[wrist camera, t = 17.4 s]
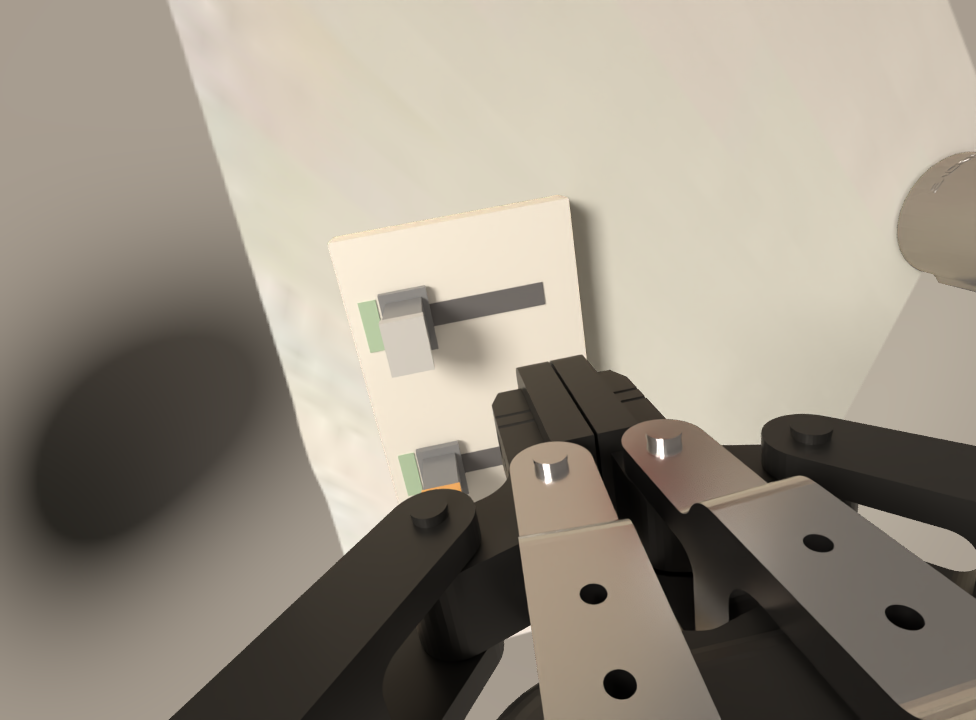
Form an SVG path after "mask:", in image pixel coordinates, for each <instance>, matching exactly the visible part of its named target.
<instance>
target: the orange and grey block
mask: <svg viewBox="0 0 976 720" xmlns="http://www.w3.org/2000/svg"><path fill="white" fill-rule="evenodd" d="M416 457H417V461H418V465H419V469H420V473H421V477H422V481H423V490H421V492H425V491H428V490H434V489H454V490H458V491H461V492H463V493H465V494H469V489H468V485H467V480H466V476H465V471H464V466H463V462H462V457H461V452H460V448H459V443H458V440H457V441H453V442H448V443H443V444H438V445H433V446H429V447H424V448H419V449H416Z"/></svg>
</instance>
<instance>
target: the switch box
mask: <svg viewBox="0 0 976 720" xmlns="http://www.w3.org/2000/svg"><path fill="white" fill-rule="evenodd" d="M327 245H328V248H329V252H330V256H331V259H332V263H333V266H334V270H335V274H336V277H337V281H338V285H339V288H340V292H341V296H342V299H343V303H344V307H345V310H346V314H347V318H348V321H349V325H350V329H351V332H352V336H353V340H354V343H355V347H356V351H357V354H358V358H359V362H360V365H361V369H362V372H363V376H364V380H365V383H366V387H367V391H368V394H369V398H370V402H371V405H372V409H373V413H374V416H375V420H376V424H377V427H378V431H379V435H380V438H381V442H382V446H383V449H384V453H385V457H386V460H387V464H388V467H389V471H390V475H391V478H392V482H393V486H394V489H395V493H396V497H397V500H398V504H400V503H401V502H403V501H405V500H406V499H408V498H410V497H412V496H414V495H416V494H419V493H421V490H423V481H422V477H421V473H420V469H419V465H418V461H417V457H416V449H419V448H424V447H429V446H433V445H438V444H443V443H448V442H453V441H457V440H458V443H459V448H460V452H461V457H462V462H463V466H464V471H465V476H466V480H467V485H468V489H469V494H467V495H468V496H470V497H471V499H472V500H473V501H474V502H476V501H479V500H481V499H483V498H485V497H487V496H489V495H491V494H492V493H494V492H495V491H496V490H498V489H499V488H500V487H501V486H502V485H503V484H504V483H505V481H506V480H507V478H506V475H505V471H504V468H503V464H502V459H501V453H500V448H499V443H498V437H497V432H496V426H495V421H494V416H493V410H492V403H493V401H494V399H495V398H496V396H497V394H498V393H501V392H506V391H510V390H515V389H518V384H517V377H516V368H517V367H522V366H527V365H532V364H537V363H542V362H547V361H548V362H550V361H551V360H556V359H561V358H566V357H571V356H576V355H581V354H582V355H583V356H584V357H585V358H586V359H587V357H586V348H585V339H584V330H583V321H582V312H581V304H580V295H579V286H578V277H577V268H576V259H575V250H574V241H573V232H572V223H571V214H570V205H569V198H567V197H564V196H560V195H554V196H549V197H544V198H538V199H533V200H528V201H523V202H517V203H512V204H507V205H501V206H496V207H491V208H485V209H480V210H475V211H469V212H464V213H459V214H454V215H448V216H443V217H438V218H432V219H427V220H422V221H416V222H411V223H406V224H400V225H395V226H390V227H384V228H379V229H374V230H369V231H363V232H358V233H353V234H347V235H342V236H337V237H333V238H332V239H331V240H330V241H329V242H328V243H327ZM422 285H425V287H426V291H427V296H428V301H429V305H430V310H431V314H432V319H433V324H434V328H435V333H436V338H437V342H438V348H439V349H435V350H432V355H433V360H434V365H435V369H434V370H429V371H424V372H419V373H414V374H409V375H404V376H399V377H394V378H392V376H391V372H390V368H389V364H388V360H387V356H386V352H385V348H384V344H383V340H382V336H381V332H380V328H379V321H380V320H382V313H381V309H380V305H379V301H378V297H377V295H378V294H381V293H386V292H392V291H397V290H402V289H407V288H412V287H417V286H422Z"/></svg>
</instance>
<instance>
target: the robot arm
mask: <svg viewBox="0 0 976 720" xmlns="http://www.w3.org/2000/svg"><path fill="white" fill-rule="evenodd" d="M897 239H898V243H899V247H900V250H901V252H902V254H903V256H904V258H905V259H906V260H907V261H908V262H909V264H910V265H911V266H913V267H915V268H916V269H918V270H920V271H923V272H927V273H931V274H934V276H935V277H936V278H937V280H938V282H939V283H942V284H946V285H950V286H954V287H958V288H962V289H966V290H970V291H974V292H976V152H964V153H959V154H955V155H952V156H950V157H947V158H945V159H943V160H941V161H940V162H938V163H937V164H935V165H934V166H932V167H931V168H930V169H929V170H927V171H926V172H925V173H924V174H923V175H922V176H921V177H920V178H919V179H918V181H917V182H916V183H915V184H914V186H913V187H912V188H911V190H910V192H909V194H908V195H907V197H906V199H905V201H904V203H903V206H902V209H901V211H900V215H899V220H898V225H897ZM516 377H517V384H518V389H515V390H510V391H506V392H501V393H498V394H497V396H496V398H495V399H494V401H493V403H492V410H493V416H494V421H495V426H496V432H497V437H498V443H499V448H500V453H501V459H502V464H503V468H504V471H505V475H506V478H507V480H506V481H505V483H504V484H503V485H502V486H501V487H500V488H499V489H498V490H496V491H495V492H494V493H492V494H491V495H489V496H487V497H485V498H483V499H481V500H479V501H476V502H474V501H473V500H472V499H471V497H470V496H468V495H467V494H465V493H463V492H461V491H458V490H454V489H434V490H428V491H425V492H421V493H419V494H416V495H414V496H412V497H410V498H408V499H406V500H405V501H403V502H401V503H400V504H399V505H398V506H397V507H395V508H394V509H393V510H392V511H391V512H390V513H389V514H388V515H387V516H386V517H385V518H384V519H383V520H382V521H380V522H379V523H378V524H377V525H376V526H375V527H374V528H373V529H372V530H371V531H370V532H369V533H368V534H367V535H366V536H364V537H363V538H362V539H361V540H360V541H359V542H358V543H357V544H356V545H355V546H354V547H353V548H352V549H351V550H350V551H348V552H347V553H346V554H345V555H344V556H343V557H342V558H341V559H340V560H339V561H338V562H337V563H336V564H335V565H334V566H333V567H331V568H330V569H329V570H328V571H327V572H326V573H325V574H324V575H323V576H322V577H321V578H320V579H319V580H318V581H317V582H315V583H314V584H313V585H312V586H311V587H310V588H309V589H308V590H307V591H306V592H305V593H304V594H303V595H301V597H299V598H298V599H297V600H296V601H295V602H294V603H293V604H292V605H291V606H290V607H289V608H288V609H287V610H285V611H284V612H283V613H282V614H281V615H280V616H279V617H278V618H277V619H276V620H275V621H274V622H273V623H272V624H270V625H269V626H268V627H267V628H266V629H265V630H264V631H263V632H262V633H261V634H260V635H259V636H258V637H257V638H256V639H254V640H253V641H252V642H251V643H250V644H249V645H248V646H247V647H246V648H245V649H244V650H243V651H242V652H241V653H240V654H238V655H237V656H236V657H235V658H234V659H233V660H232V661H231V662H230V663H229V664H228V665H227V666H226V667H225V668H224V669H222V670H221V671H220V672H219V673H218V674H217V675H216V676H215V677H214V678H213V679H212V680H211V681H210V682H209V683H208V684H206V685H205V686H204V687H203V688H202V689H201V690H200V691H199V692H198V693H197V694H196V695H195V696H194V697H193V698H191V699H190V700H189V701H188V702H187V703H186V704H185V705H184V706H183V707H182V708H181V709H180V710H179V711H178V712H177V713H175V715H173V716H172V717H171V718H170V719H169V720H464V719H465V717H466V715H467V714H468V712H469V711H470V709H471V707H472V706H473V704H474V703H475V701H476V699H477V698H478V696H479V695H480V693H481V691H482V690H483V687H484V686H485V685H486V683H487V681H488V680H489V678H490V677H491V675H492V673H493V672H494V670H495V668H496V667H497V665H498V663H499V662H500V660H501V658H502V654H503V651H504V640H505V639H507V638H509V637H510V636H512V635H514V634H516V633H518V632H519V631H521V630H523V629H525V628H526V627H528V626H530V625H531V630H532V637H533V643H534V651H535V658H536V665H537V672H538V679H539V683H538V684H536V685H535V686H533V687H532V688H530V689H529V690H527V691H526V692H525V693H523V694H522V695H521V696H520V697H518V698H517V699H516V700H515V701H514V702H513V703H512V704H511V705H509V706H508V708H507V709H506V710H505V711H504V712H503V713H502V714H501V715H500V716H499V718H498V719H497V720H976V569H975V570H972V571H968V572H959V571H953V570H949V569H946V568H943V567H940V566H937V565H934V564H931V563H928V562H925V561H923V560H922V559H920V558H919V557H918V556H916V555H915V554H913V553H912V552H911V551H909V550H908V549H907V548H905V547H904V546H902V545H901V544H899V543H898V542H897V541H896V540H894V539H893V538H891V537H890V536H889V535H887V534H886V533H885V532H883V531H882V530H880V529H879V528H878V527H876V526H875V525H874V524H872V523H871V522H869V521H868V520H867V519H865V518H864V517H862V516H861V515H860V514H858V513H857V512H858V504H860V505H864V506H867V507H871V508H874V509H878V510H881V511H885V512H888V513H892V514H896V515H899V516H902V517H906V518H909V519H913V520H916V521H920V522H923V523H927V524H930V525H934V526H937V527H941V528H944V529H948V530H950V531H953V532H955V533H957V534H959V535H961V536H962V537H964V538H965V539H967V540H968V541H969V542H970V543H971V544H972V545H973V546H974V548H975V549H976V446H973V445H968V444H963V443H958V442H953V441H948V440H943V439H937V438H933V437H927V436H922V435H917V434H912V433H907V432H902V431H897V430H892V429H887V428H882V427H877V426H872V425H867V424H862V423H856V422H851V421H846V420H842V419H837V418H831V417H826V416H821V415H812V414H793V415H786V416H781V417H778V418H775V419H772V420H771V421H769V422H767V423H766V424H765V425H764V426H763V428H762V432H761V445H720V444H719V443H718V442H717V441H715V440H714V439H713V438H712V437H711V436H709V435H708V434H707V433H706V432H704V431H703V430H702V429H701V428H699V427H698V426H696V425H693V424H691V423H688V422H685V421H680V420H673V419H666V418H665V417H664V416H663V415H662V414H661V413H660V412H659V411H658V410H657V409H656V408H655V407H654V405H653V404H652V403H651V402H650V401H649V400H648V399H647V398H645V397H644V395H643V394H642V393H641V392H640V390H639V389H637V387H636V386H635V385H634V384H633V383H632V382H631V381H630V380H629V379H628V378H627V377H626V376H623V375H621V374H618V373H616V372H613V371H611V370H607V371H602V372H598V373H597V372H596V371H595V369H594V368H593V367H592V366H591V364H590V363H589V362H588V361H587V359H586V358H585V357H584V356H583V355H582V354H581V355H576V356H571V357H566V358H561V359H556V360H551V361H550V362H548V361H547V362H542V363H537V364H532V365H527V366H522V367H517V368H516Z"/></svg>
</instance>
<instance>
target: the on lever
mask: <svg viewBox="0 0 976 720" xmlns="http://www.w3.org/2000/svg"><path fill="white" fill-rule="evenodd" d="M377 297H378V301H379V305H380V309H381V313H382V320H380V321H379V328H380V332H381V336H382V340H383V344H384V348H385V352H386V356H387V360H388V364H389V368H390V372H391V376H392V378H394V377H399V376H404V375H409V374H414V373H419V372H424V371H429V370H434V369H435V365H434V360H433V355H432V350H435V349H439V348H438V342H437V338H436V333H435V328H434V324H433V319H432V314H431V310H430V305H429V301H428V296H427V291H426V287H425V285H422V286H417V287H412V288H407V289H402V290H397V291H392V292H386V293H381V294H378V295H377Z"/></svg>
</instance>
